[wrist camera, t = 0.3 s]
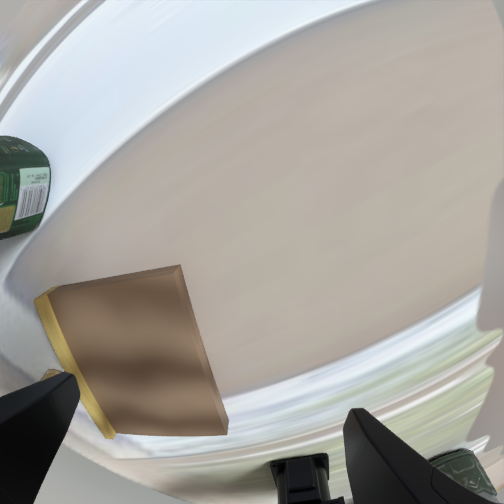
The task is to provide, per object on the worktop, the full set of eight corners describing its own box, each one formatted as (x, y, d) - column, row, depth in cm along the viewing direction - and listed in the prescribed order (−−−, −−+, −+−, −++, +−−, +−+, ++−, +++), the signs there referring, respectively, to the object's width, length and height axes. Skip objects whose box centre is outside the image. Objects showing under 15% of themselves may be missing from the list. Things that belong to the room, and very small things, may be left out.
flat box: (228, 420, 26) (226, 442, 23) (113, 420, 26) (103, 438, 24) (180, 264, 22) (169, 278, 19) (50, 287, 23) (31, 300, 20)
